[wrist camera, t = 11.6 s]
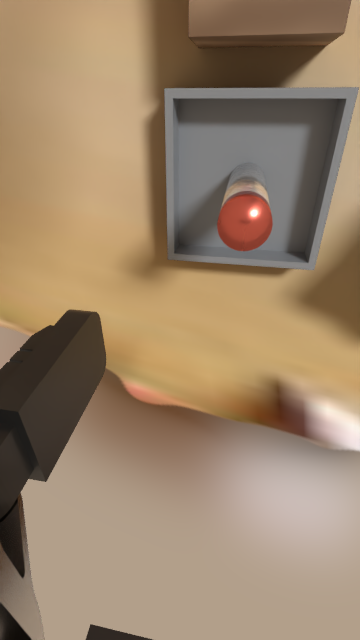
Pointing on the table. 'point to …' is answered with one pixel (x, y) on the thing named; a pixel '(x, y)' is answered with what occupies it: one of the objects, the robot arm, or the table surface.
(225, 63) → the table surface
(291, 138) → the tray
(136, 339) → the table surface
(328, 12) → the socket block
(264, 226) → the pin
